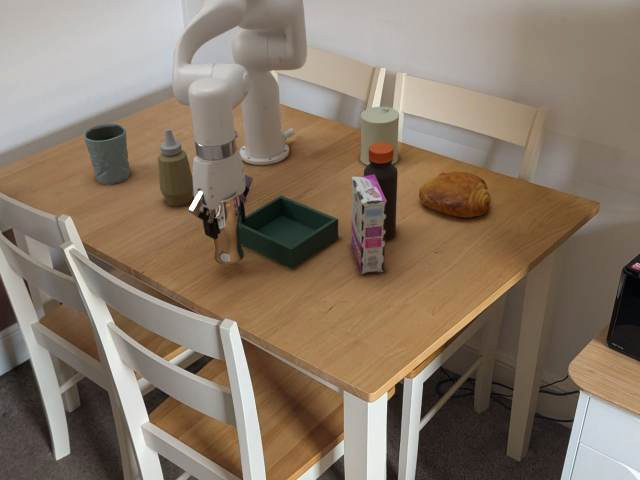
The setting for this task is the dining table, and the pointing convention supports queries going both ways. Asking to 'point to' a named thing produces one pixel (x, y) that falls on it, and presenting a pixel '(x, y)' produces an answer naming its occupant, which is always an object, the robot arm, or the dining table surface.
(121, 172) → the grey green cup
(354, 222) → the candy bar box
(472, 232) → the dining table surface
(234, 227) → the beer glass
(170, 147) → the squeeze bottle
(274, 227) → the tote
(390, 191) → the vinegar
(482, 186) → the croissant
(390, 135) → the can
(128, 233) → the dining table surface
